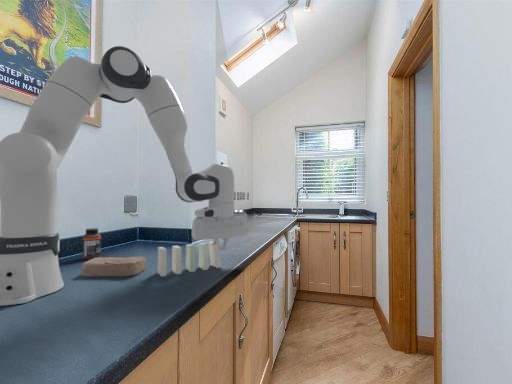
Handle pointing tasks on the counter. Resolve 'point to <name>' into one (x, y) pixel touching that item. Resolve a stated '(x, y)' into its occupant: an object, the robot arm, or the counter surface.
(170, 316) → the counter surface
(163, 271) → the domino
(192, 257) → the pale green domino
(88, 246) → the supplement bottle
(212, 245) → the domino
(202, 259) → the domino
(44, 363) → the counter surface
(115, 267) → the brick
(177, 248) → the domino
